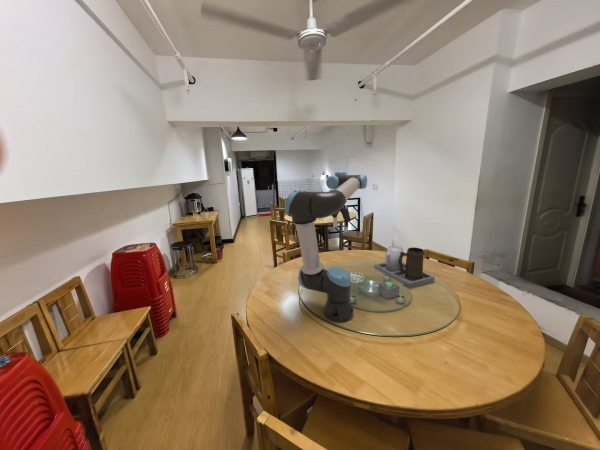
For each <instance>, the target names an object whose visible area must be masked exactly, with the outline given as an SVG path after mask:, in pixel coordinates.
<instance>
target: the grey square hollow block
mask: <svg viewBox="0 0 600 450" xmlns="http://www.w3.org/2000/svg"><path fill="white" fill-rule="evenodd" d="M386 282H392V281H390V280H388V281H384V282H379V283H378V291H379V292H380V295H381V296H382V297H384V298H385V299H387V300H391V299H394V298H397V297H396V296H398V295H399V296H400V286H399V285H397V284H395V283H394V282H392V283H393V286H392V287H389V288H388V287H387V286H385V285H386ZM378 291H377V292H378ZM399 296H398V297H399Z"/></svg>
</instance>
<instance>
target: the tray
mask: <svg viewBox="0 0 600 450" xmlns="http://www.w3.org/2000/svg"><path fill="white" fill-rule="evenodd" d="M402 266H403V269H404V270H405V267H406V262H404V261H403V262H402ZM373 269H375V270H377V271H379V272H381V273H383V274H384V275H386V276H388V277H389V278H391V279H393V280H395V281H397V282H399V283H401V284H402V286H403V287H404V286H405V287H404V288H406V287H407V288H406V289H408V288H409V289H408V290H411V288H412V289H415V288H419V287H423V286H425V285H426V286H427V285H429V283H430V284H433V282H434V283H435V280H436V279H435V276H434V275H431V274H429V273H426V272H425V271H423V279H420V280H416V281H411V280H408V279H407V278H405V273H400V271H395V272H390V271H388V270H387V269H386V264H385V262H381V263H375V264H374V267H373ZM422 285H423V286H422ZM418 286H419V287H418ZM414 287H415V288H414Z"/></svg>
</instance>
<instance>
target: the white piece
mask: <svg viewBox="0 0 600 450" xmlns="http://www.w3.org/2000/svg"><path fill="white" fill-rule="evenodd" d="M386 251H387V254H385V257H384V258H385V261H384V263H385V264H386V269H387V270H388V271H390V272H395V271H400V266H399V263H398V259H399V256H400V252H404V248H403V247H402V246H397V245H390V246H388V247H387V249H386ZM403 259H404V256H403V257H402V262H403V263H404V261H403Z"/></svg>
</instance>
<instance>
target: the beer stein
mask: <svg viewBox="0 0 600 450" xmlns="http://www.w3.org/2000/svg"><path fill="white" fill-rule="evenodd" d="M424 256H425V250H424V249H423V248H420V247H409V248H407V250H406V252H404V251H403V252H400V256H399V259H398V263H399V266H400V273H405V278H407V279H408V280H411V281H416V280H420V279H423V272H424ZM402 257H403V258H404V257H405V258H406V259H405V264H406V267H405V270H404V269H403V266H402Z"/></svg>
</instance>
